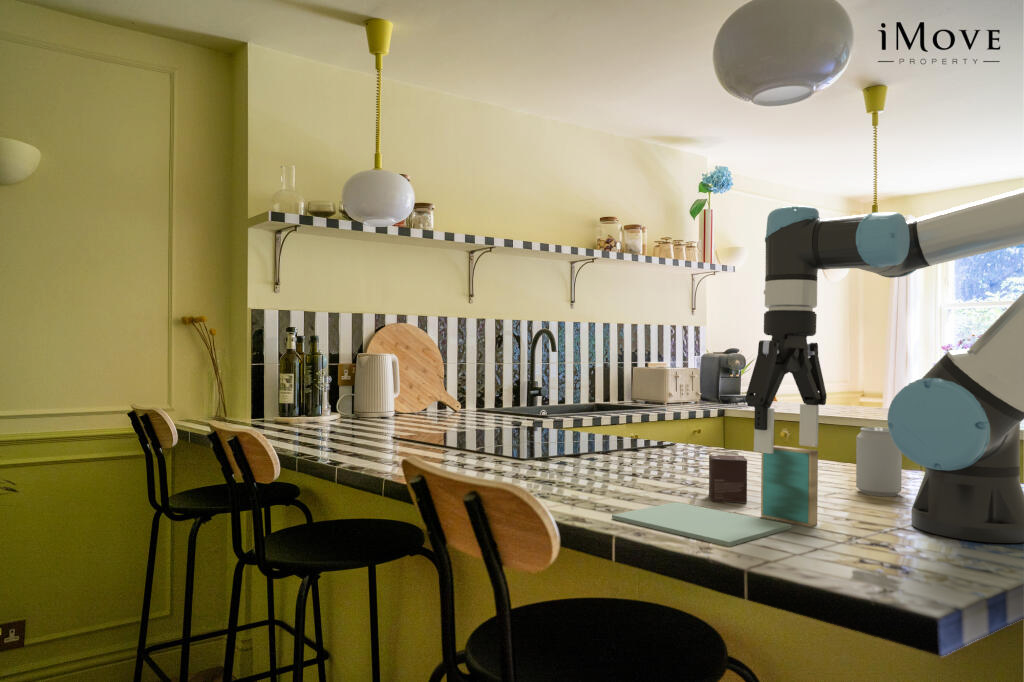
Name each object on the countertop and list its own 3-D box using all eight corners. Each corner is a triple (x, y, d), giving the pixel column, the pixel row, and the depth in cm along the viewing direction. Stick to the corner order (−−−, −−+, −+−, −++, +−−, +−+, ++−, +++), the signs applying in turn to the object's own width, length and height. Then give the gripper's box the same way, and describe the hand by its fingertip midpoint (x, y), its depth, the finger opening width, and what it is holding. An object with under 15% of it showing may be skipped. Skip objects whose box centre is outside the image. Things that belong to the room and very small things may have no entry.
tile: (817, 524, 109) (817, 450, 109) (810, 526, 107) (810, 451, 107) (767, 514, 115) (768, 444, 115) (760, 516, 113) (761, 445, 113)
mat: (790, 528, 106) (790, 524, 106) (729, 546, 95) (729, 541, 95) (676, 505, 121) (676, 501, 121) (611, 518, 110) (611, 514, 110)
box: (747, 503, 123) (747, 460, 123) (710, 501, 125) (711, 458, 125) (743, 497, 129) (743, 455, 129) (708, 495, 131) (708, 454, 131)
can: (857, 495, 133) (857, 428, 133) (854, 488, 140) (855, 425, 140) (903, 498, 130) (904, 431, 130) (899, 491, 137) (899, 427, 137)
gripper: (806, 314, 123) (803, 440, 123) (722, 305, 106) (719, 452, 106) (851, 313, 117) (848, 446, 117) (770, 304, 101) (766, 458, 100)
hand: (786, 449), depth 112 cm, fingers open, 13 cm apart
